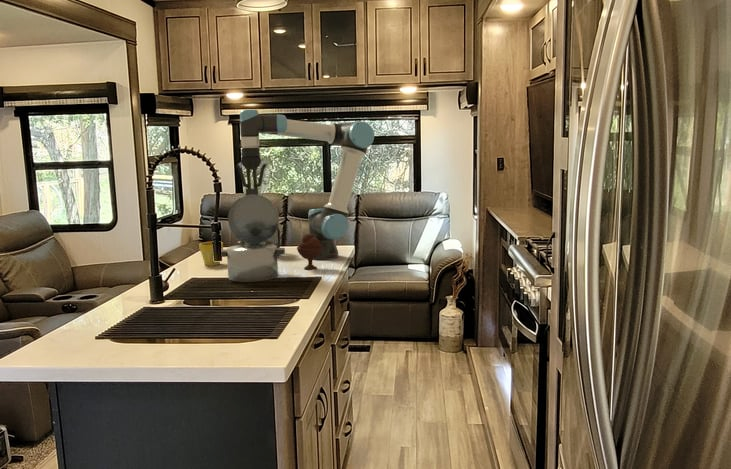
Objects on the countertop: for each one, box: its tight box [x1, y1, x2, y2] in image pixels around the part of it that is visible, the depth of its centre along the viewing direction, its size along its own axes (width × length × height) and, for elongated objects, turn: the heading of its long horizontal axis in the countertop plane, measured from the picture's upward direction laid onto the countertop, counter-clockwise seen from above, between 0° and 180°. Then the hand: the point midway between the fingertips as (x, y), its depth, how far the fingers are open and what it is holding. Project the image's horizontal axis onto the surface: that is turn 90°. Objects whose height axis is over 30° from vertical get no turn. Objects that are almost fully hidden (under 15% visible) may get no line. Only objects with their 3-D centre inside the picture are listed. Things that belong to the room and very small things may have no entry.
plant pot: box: [198, 241, 224, 267], centre depth 278 cm, size 10×10×10 cm
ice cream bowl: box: [296, 233, 323, 271], centre depth 262 cm, size 11×11×15 cm
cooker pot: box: [221, 243, 286, 283], centre depth 250 cm, size 26×20×12 cm
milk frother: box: [262, 226, 281, 257], centre depth 298 cm, size 14×16×15 cm
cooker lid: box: [227, 187, 280, 245], centre depth 259 cm, size 21×24×4 cm
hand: (253, 203), depth 260 cm, fingers closed
